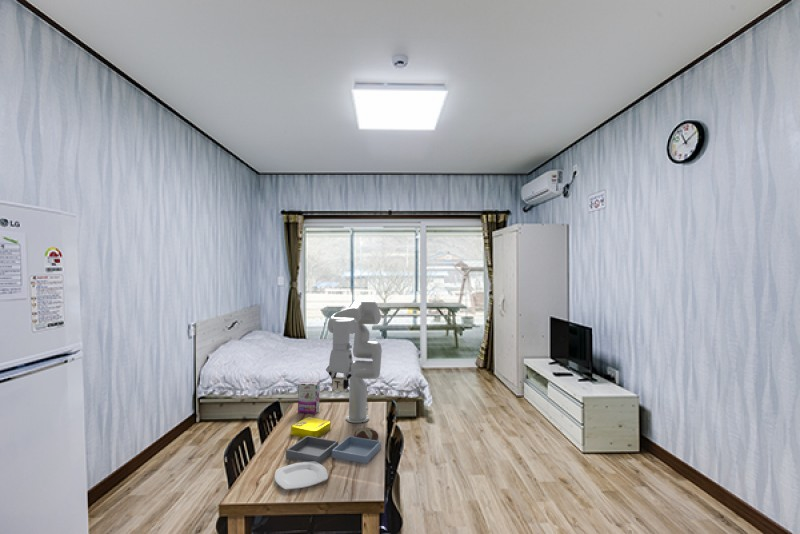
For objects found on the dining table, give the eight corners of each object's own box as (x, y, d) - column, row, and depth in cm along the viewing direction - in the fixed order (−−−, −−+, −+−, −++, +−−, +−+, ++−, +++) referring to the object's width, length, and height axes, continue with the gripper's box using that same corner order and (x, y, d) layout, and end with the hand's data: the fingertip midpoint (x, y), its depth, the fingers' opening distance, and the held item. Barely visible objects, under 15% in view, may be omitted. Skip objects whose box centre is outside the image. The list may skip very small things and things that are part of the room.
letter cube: (337, 387, 178) (338, 376, 178) (347, 388, 176) (347, 377, 176) (332, 390, 173) (332, 378, 173) (342, 391, 171) (342, 379, 171)
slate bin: (348, 443, 178) (349, 436, 179) (380, 449, 173) (381, 441, 173) (331, 458, 163) (331, 450, 164) (366, 465, 158) (366, 456, 158)
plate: (270, 473, 151) (270, 468, 151) (318, 463, 160) (318, 458, 160) (280, 498, 134) (280, 492, 134) (333, 484, 144) (333, 479, 144)
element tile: (314, 440, 182) (314, 430, 182) (288, 435, 188) (289, 425, 188) (331, 429, 196) (332, 420, 196) (307, 424, 202) (307, 415, 202)
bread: (358, 445, 177) (358, 434, 177) (352, 436, 188) (352, 426, 188) (381, 442, 181) (381, 431, 181) (373, 433, 192) (374, 423, 192)
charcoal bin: (306, 443, 178) (307, 435, 178) (337, 449, 173) (337, 441, 173) (285, 458, 163) (285, 450, 163) (318, 465, 157) (319, 456, 158)
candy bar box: (319, 411, 222) (320, 382, 222) (316, 414, 217) (316, 384, 218) (301, 409, 224) (301, 381, 224) (297, 412, 219) (298, 383, 219)
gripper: (361, 347, 176) (360, 387, 175) (328, 344, 181) (327, 383, 181) (354, 349, 169) (353, 391, 168) (320, 347, 174) (319, 387, 174)
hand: (340, 387), depth 174 cm, fingers closed on letter cube, 4 cm apart
